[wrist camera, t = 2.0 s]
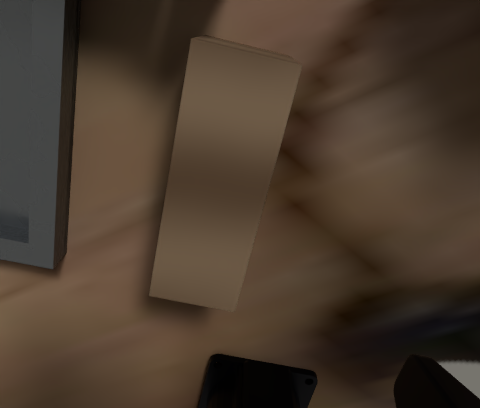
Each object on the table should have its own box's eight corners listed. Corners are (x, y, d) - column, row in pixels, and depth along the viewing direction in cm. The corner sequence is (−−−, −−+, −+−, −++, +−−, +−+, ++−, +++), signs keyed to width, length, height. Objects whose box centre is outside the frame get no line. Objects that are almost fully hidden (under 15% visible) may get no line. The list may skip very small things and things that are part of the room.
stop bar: (237, 251, 21) (234, 312, 17) (169, 237, 21) (148, 295, 17) (287, 54, 17) (302, 65, 13) (205, 35, 17) (191, 38, 13)
